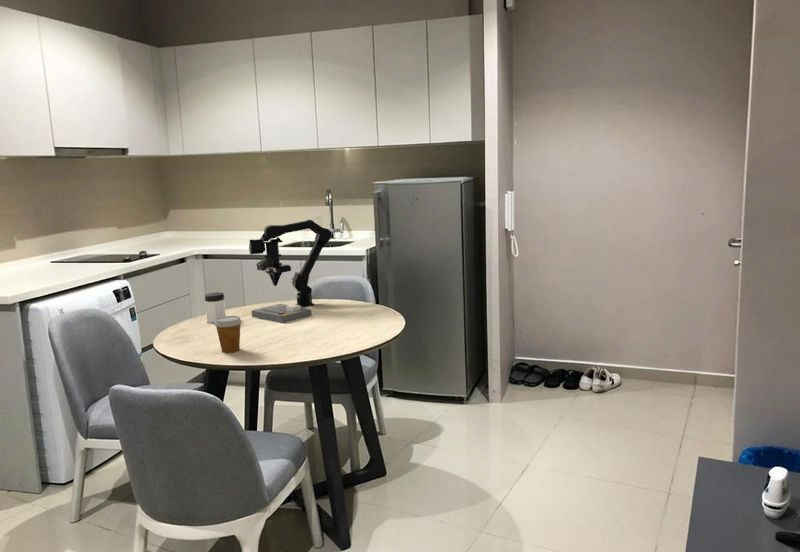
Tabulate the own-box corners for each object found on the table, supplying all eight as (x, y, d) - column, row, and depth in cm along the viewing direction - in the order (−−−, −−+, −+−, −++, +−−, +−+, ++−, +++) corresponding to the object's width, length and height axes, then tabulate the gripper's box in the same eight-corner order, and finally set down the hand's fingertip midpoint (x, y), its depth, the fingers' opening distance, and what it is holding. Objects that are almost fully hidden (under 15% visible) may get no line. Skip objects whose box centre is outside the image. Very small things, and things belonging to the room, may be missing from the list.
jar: (211, 324, 283) (209, 296, 281) (202, 321, 289) (200, 294, 287) (230, 320, 289) (228, 293, 287) (221, 317, 295) (218, 291, 293)
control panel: (280, 310, 305) (280, 303, 304) (311, 315, 290) (311, 308, 290) (251, 317, 293) (251, 310, 293) (282, 323, 278) (282, 316, 278)
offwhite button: (294, 309, 293) (294, 304, 293) (300, 310, 290) (300, 305, 290) (286, 311, 290) (286, 306, 290) (292, 312, 287) (292, 307, 287)
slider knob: (281, 311, 286) (281, 304, 285) (286, 312, 284) (285, 305, 283) (276, 312, 284) (275, 305, 283) (280, 313, 282) (280, 306, 281)
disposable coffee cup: (246, 346, 245) (243, 314, 243) (241, 353, 236) (238, 320, 234) (220, 347, 245) (217, 316, 243) (214, 354, 235) (211, 322, 233)
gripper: (246, 253, 304) (249, 286, 307) (270, 256, 292) (273, 290, 294) (265, 250, 312) (268, 282, 315) (290, 252, 300) (293, 286, 302)
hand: (275, 285), depth 306 cm, fingers closed
